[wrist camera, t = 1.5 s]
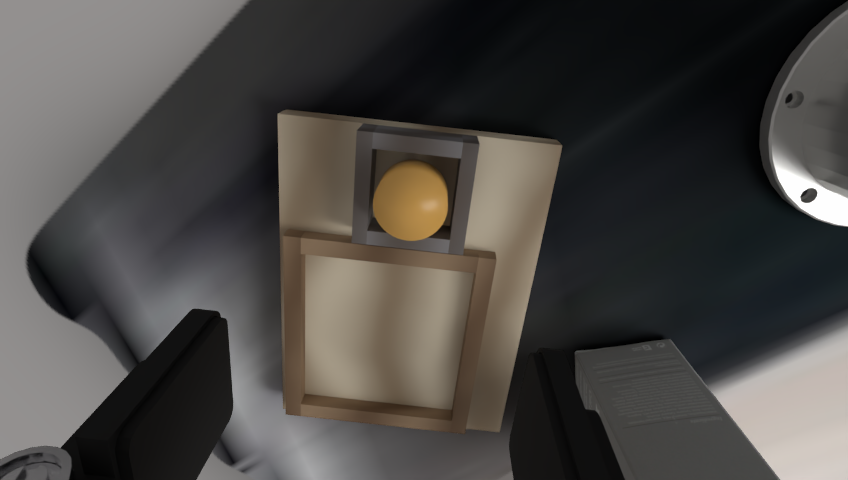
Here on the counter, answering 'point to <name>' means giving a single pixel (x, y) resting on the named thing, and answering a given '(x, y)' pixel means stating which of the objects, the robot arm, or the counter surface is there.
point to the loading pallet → (405, 272)
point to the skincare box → (664, 416)
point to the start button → (411, 200)
